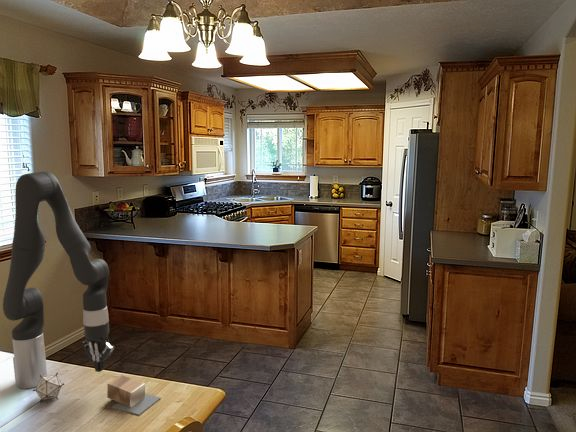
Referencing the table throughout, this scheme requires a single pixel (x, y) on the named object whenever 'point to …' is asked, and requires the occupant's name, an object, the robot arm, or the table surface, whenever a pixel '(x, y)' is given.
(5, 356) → the table surface
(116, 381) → the walnut block
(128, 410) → the slate-grey rubber mat
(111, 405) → the stop strip
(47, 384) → the game die
